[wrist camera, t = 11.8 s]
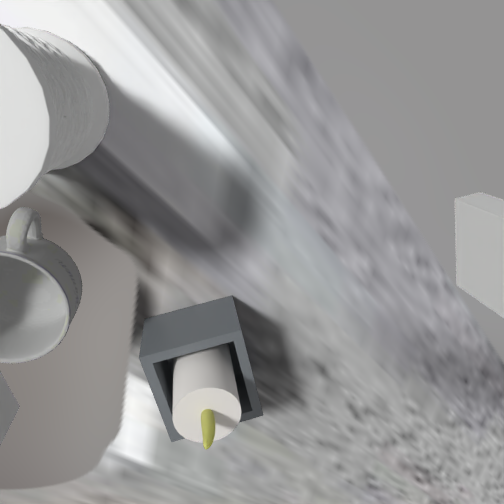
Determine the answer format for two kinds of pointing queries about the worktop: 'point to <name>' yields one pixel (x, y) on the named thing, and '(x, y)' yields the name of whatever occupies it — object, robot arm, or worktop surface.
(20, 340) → the teacup
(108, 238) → the worktop surface
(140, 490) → the worktop surface
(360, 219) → the worktop surface
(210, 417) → the candle
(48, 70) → the decorative container
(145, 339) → the slate holder
